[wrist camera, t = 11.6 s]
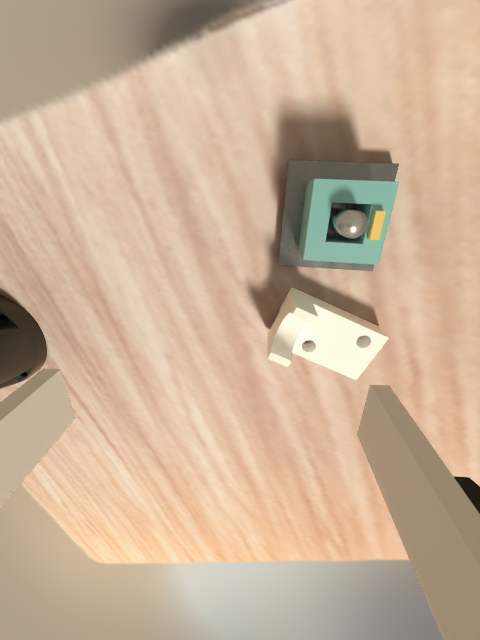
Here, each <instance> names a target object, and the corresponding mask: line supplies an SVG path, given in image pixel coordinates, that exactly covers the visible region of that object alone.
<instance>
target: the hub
mask: <svg viewBox="0 0 480 640" xmlns="http://www.w3.org/2000/svg"><path fill="white" fill-rule="evenodd" d="M398 184H399V182H390V181H363V180H337V179H313V180H311V181H309V182H307V185H306V193H305V201H304V209H303V216H302V224H301V232H300V240H299V248H298V250H299V252H300V254H301V256H302V258H303V260H311V261H327V262H342V263H358V264H374V265H378V264H379V260H380V256H381V252H382V248H383V244H384V240H385V236H386V232H387V228H388V224H389V220H390V216H391V212H392V208H393V204H394V200H395V196H396V192H397V188H398ZM332 203H353V208H352V210H355V211H360V212H362V213H364V214H365V215H366V217H367V220H368V225H367V228H366V230H365V232H364V233H363V234H362V235H361V236H359V237H357V238H347V237H345V236H332V235H327V229H328V223H329V217H330V211H331V205H332Z"/></svg>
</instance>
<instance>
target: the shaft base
mask: <svg viewBox="0 0 480 640" xmlns="http://www.w3.org/2000/svg"><path fill="white" fill-rule="evenodd" d="M398 166H399V164H394V163H365V162H336V161H307V160H289V161H288V169H287V179H286V189H285V199H284V209H283V219H282V229H281V239H280V249H279V259H278V265H285V266H300V267H316V268H332V269H347V270H363V271H373V267H374V264H358V263H342V262H327V261H311V260H303V258H302V256H301V254H300V252H299V250H298V248H299V240H300V232H301V224H302V216H303V209H304V201H305V193H306V185H307V182H309V181H311V180H313V179H337V180H363V181H390V182H395V178H396V174H397V170H398ZM352 208H353V203H332V205H331V211H330V217H329V223H328V229H327V235H332V236H345V237H347V238H357V237H359V236H361V235H362V234H363V233H364V232H365V230H366V228H367V225H368V220H367V217H366V215H365V214H364V213H362V212H360V211H355V210H352Z"/></svg>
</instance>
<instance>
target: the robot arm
mask: <svg viewBox="0 0 480 640" xmlns="http://www.w3.org/2000/svg"><path fill="white" fill-rule="evenodd" d="M46 355H47V348H46V343H45V339H44V336H43V334H42V332H41V330H40V328H39V327H38V325H37V324H36V322H35V321H34V320H33V319H32V317H31V316H30V315H29V314H28V313H27V312H26V311H25V310H24V309H22V308H21V307H20V306H18V305H17V304H16V303H14V302H12V301H11V300H9V299H7V298H5V297H3V296H0V389H2V388H5V387H8V386H10V385H13V384H16V383H19V382H22V381H24V380H26V379H27V378H29V377H30V376H32V375H33V374H34V373H36V372H37V371H38V370H39V369H40V368H41V367H42V366H43V364H44V362H45V360H46ZM74 419H75V415H74V411H73V408H72V405H71V402H70V398H69V395H68V392H67V389H66V385H65V382H64V379H63V376H62V372H61V369H42V370H41V371H40V372H39V373H37V374H36V375H35V376H34V377H32V378H31V379H30V380H28V381H27V382H26V383H25V384H23V385H22V386H21V387H20V388H18V389H17V390H16V391H14V392H13V393H12V394H11V395H9V396H8V397H7V398H5V399H4V400H3V401H2V402H0V507H1V506H2V505H3V504H4V503H5V501H6V500H7V499H8V498H9V497H10V496H11V494H12V493H13V492H14V491H15V490H16V488H17V487H18V486H19V485H20V484H21V482H22V481H23V480H24V479H25V478H26V476H27V475H28V474H29V473H30V472H31V470H32V469H33V468H34V467H35V466H36V465H37V463H38V462H39V461H40V460H41V459H42V457H43V456H44V455H45V454H46V453H47V451H48V450H49V449H50V448H51V447H52V445H53V444H54V443H55V442H56V441H57V440H58V438H59V437H60V436H61V435H62V434H63V432H64V431H65V430H66V429H67V428H68V426H69V425H70V424H71V423H72V422H73V420H74ZM357 435H358V438H359V440H360V442H361V445H362V447H363V450H364V452H365V454H366V457H367V459H368V462H369V464H370V466H371V469H372V471H373V473H374V476H375V478H376V481H377V483H378V485H379V488H380V490H381V492H382V495H383V497H384V500H385V502H386V504H387V507H388V509H389V512H390V514H391V516H392V519H393V521H394V523H395V526H396V528H397V531H398V533H399V535H400V538H401V540H402V542H403V545H404V547H405V550H406V552H407V554H408V557H409V559H410V561H411V564H412V566H413V569H414V571H415V573H416V576H417V578H418V581H419V583H420V585H421V588H422V590H423V592H424V595H425V597H426V599H427V602H428V604H429V607H430V609H431V611H432V614H433V616H434V619H435V621H436V623H437V626H438V628H439V631H440V633H441V635H442V637H443V640H480V487H479V486H478V485H477V484H476V483H475V482H474V481H472V480H471V479H470V478H468V477H453V475H452V474H451V473H450V471H449V470H448V468H447V467H446V465H445V464H444V463H443V461H442V460H441V458H440V457H439V456H438V454H437V453H436V451H435V450H434V448H433V447H432V446H431V444H430V443H429V441H428V440H427V438H426V437H425V436H424V434H423V433H422V431H421V430H420V429H419V427H418V426H417V424H416V423H415V421H414V420H413V419H412V417H411V416H410V414H409V413H408V411H407V410H406V409H405V407H404V406H403V404H402V403H401V402H400V400H399V399H398V397H397V396H396V394H395V393H394V392H393V390H392V389H391V387H390V386H385V385H370V387H369V391H368V395H367V399H366V403H365V407H364V410H363V414H362V418H361V422H360V426H359V430H358V434H357Z"/></svg>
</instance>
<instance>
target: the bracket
mask: <svg viewBox="0 0 480 640" xmlns="http://www.w3.org/2000/svg"><path fill="white" fill-rule="evenodd" d="M388 339H389V337H388V336H387V335H386V334H385V333H384V332H383V330H382V329H381V328H380V327H379V326H377V325H375V324H372V323H370V322H368V321H366V320H364V319H361V318H359V317H357V316H355V315H353V314H350V313H348V312H346V311H344V310H341V309H339V308H337V307H335V306H333V305H330V304H328V303H326V302H324V301H322V300H319V299H317V298H315V297H313V296H310V295H308V294H306V293H304V292H302V291H299V290H297V289H295V288H293V287H291V289H290V291H289V293H288V295H287V296H286V298H285V300H284V302H283V304H282V306H281V308H280V309H279V314H278V315H277V317H276V319H275V321H274V323H273V325H272V326H271V328H270V330H269V332H268V359H269V360H272V361H274V362H277V363H279V364H281V365H284V366H286V367H288V366H289V364H290V363H291V357H292V353H294V354H296V355H299V356H301V357H303V358H306V359H308V360H310V361H313V362H315V363H317V364H320V365H322V366H324V367H327V368H329V369H331V370H334V371H336V372H338V373H340V374H343V375H345V376H347V377H350V378H352V379H354V380H357V379H358V377H359V376H360V375H361V373H362V372H363V371H364V369H365V368H366V367H367V366H368V364H369V363H370V362H371V360H372V359H373V358H374V357H375V355H376V354H377V353H378V351H379V350H380V349H381V348H382V346H383V345H384V344H385V342H386V341H387V340H388ZM307 340H311V341H310V342H308V343H304V342H305V341H307Z"/></svg>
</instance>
